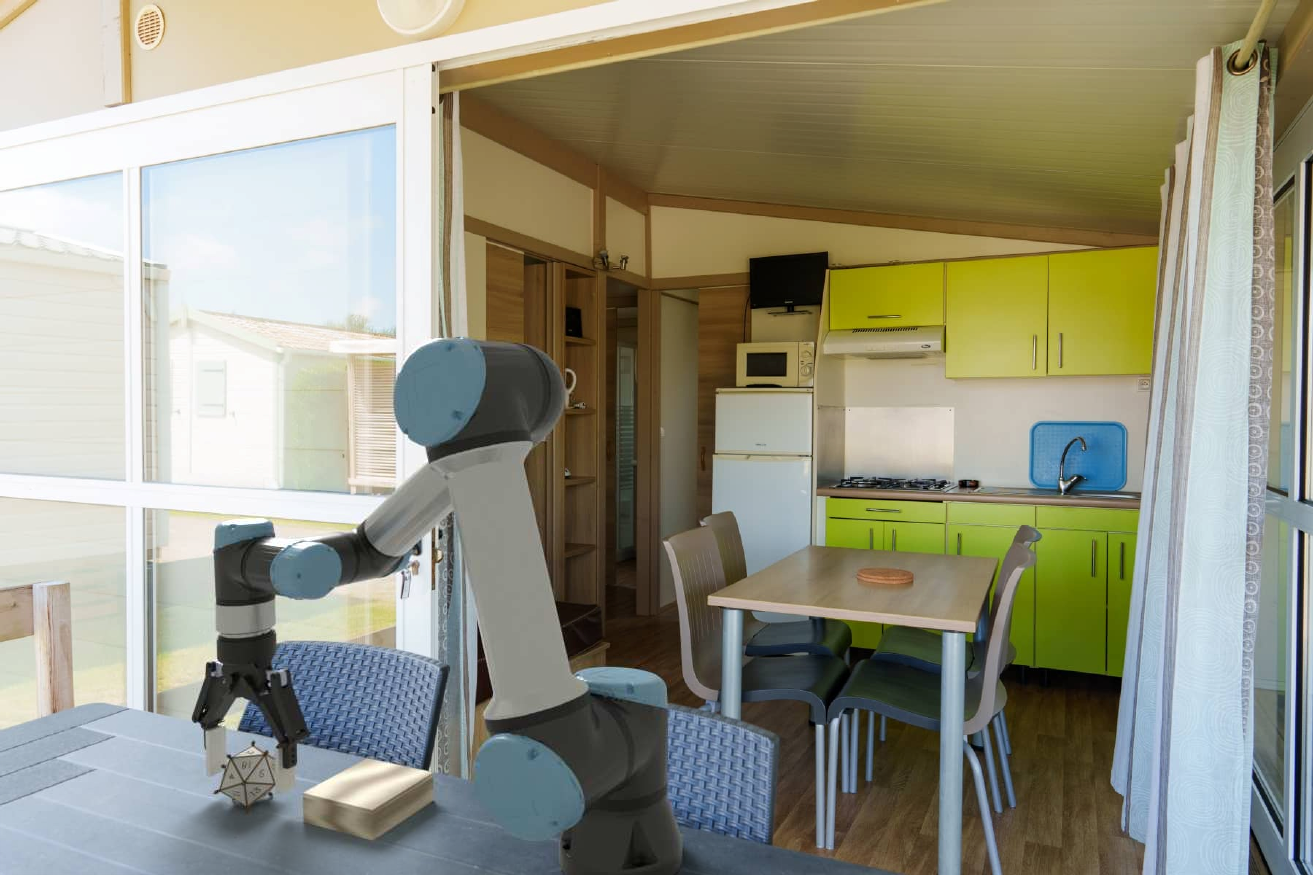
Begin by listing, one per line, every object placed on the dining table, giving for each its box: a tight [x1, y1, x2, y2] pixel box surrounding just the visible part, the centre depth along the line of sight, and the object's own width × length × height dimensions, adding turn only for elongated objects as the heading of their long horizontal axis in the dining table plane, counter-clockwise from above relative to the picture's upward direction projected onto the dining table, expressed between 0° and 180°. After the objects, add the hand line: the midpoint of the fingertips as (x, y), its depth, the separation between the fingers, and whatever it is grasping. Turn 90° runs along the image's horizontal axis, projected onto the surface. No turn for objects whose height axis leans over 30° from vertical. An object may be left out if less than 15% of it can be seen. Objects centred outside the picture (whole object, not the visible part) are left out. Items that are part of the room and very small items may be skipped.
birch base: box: [302, 758, 435, 841], centre depth 117 cm, size 12×12×4 cm
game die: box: [212, 739, 275, 814], centre depth 119 cm, size 9×8×10 cm
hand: (250, 781), depth 119 cm, fingers open, 13 cm apart
